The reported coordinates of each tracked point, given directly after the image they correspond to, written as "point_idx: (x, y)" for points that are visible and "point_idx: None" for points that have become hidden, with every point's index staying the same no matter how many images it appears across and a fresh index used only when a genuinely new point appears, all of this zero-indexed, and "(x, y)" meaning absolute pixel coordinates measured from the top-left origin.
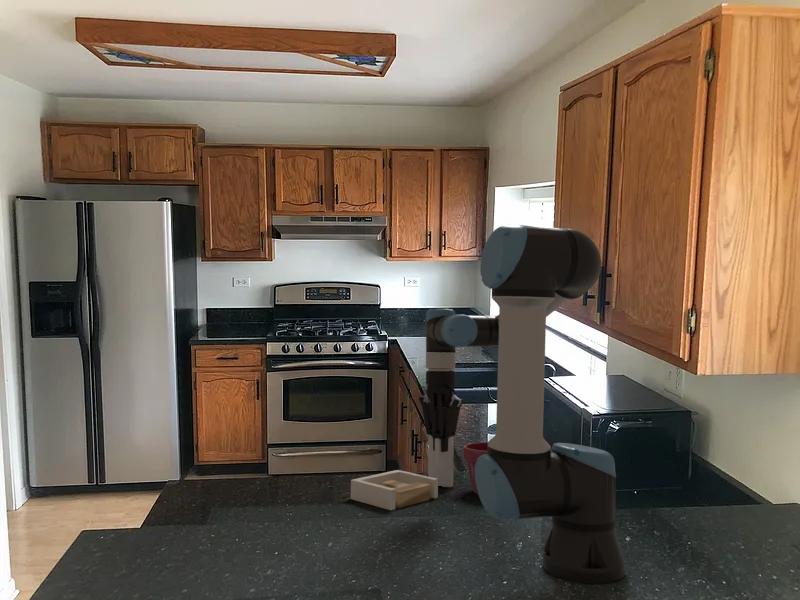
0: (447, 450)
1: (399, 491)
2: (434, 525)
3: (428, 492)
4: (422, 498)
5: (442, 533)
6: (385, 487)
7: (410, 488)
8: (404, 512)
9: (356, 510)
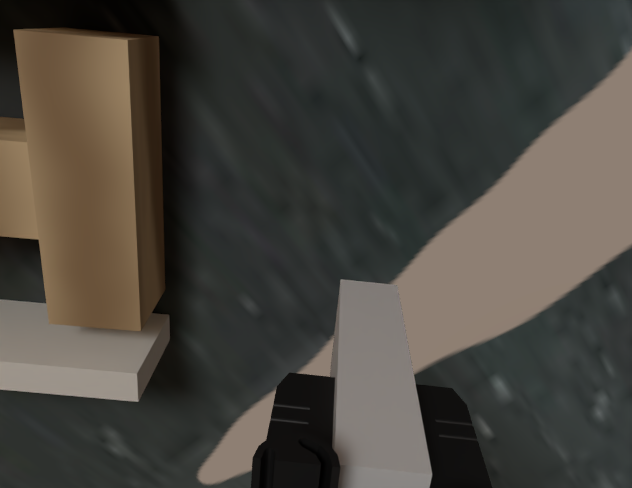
0: (457, 405)
1: (125, 314)
2: (456, 388)
3: (144, 54)
4: (155, 111)
5: (535, 442)
6: (69, 379)
7: (115, 219)
8: (234, 324)
9: (66, 421)
